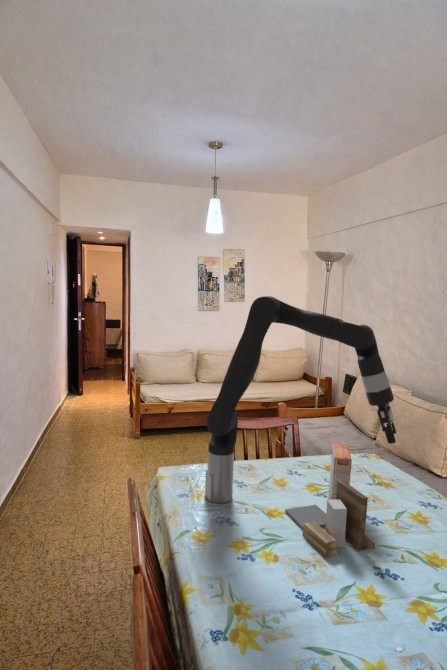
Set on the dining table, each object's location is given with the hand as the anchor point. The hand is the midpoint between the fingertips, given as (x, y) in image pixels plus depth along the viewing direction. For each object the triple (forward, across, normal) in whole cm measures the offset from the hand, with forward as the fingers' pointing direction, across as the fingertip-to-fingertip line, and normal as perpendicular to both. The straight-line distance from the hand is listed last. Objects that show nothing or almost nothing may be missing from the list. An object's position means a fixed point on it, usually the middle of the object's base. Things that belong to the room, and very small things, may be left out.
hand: (392, 438), depth 132 cm
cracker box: (+24, -8, -26) cm, 36 cm away
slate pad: (+21, +3, -32) cm, 39 cm away
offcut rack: (+24, +12, -22) cm, 35 cm away
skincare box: (+24, +13, -23) cm, 36 cm away
